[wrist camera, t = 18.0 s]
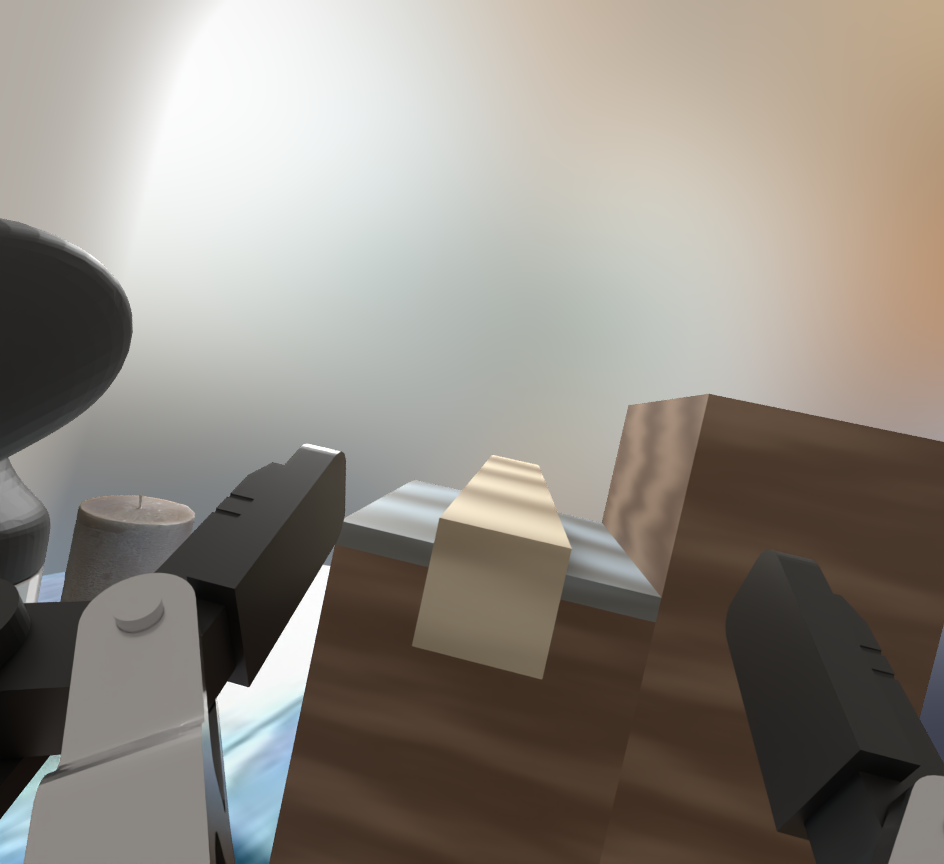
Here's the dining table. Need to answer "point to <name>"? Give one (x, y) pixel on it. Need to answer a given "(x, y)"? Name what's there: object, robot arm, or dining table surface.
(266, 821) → the dining table surface
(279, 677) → the dining table surface
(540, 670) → the maple rod
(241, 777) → the dining table surface
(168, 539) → the pillar candle
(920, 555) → the block
